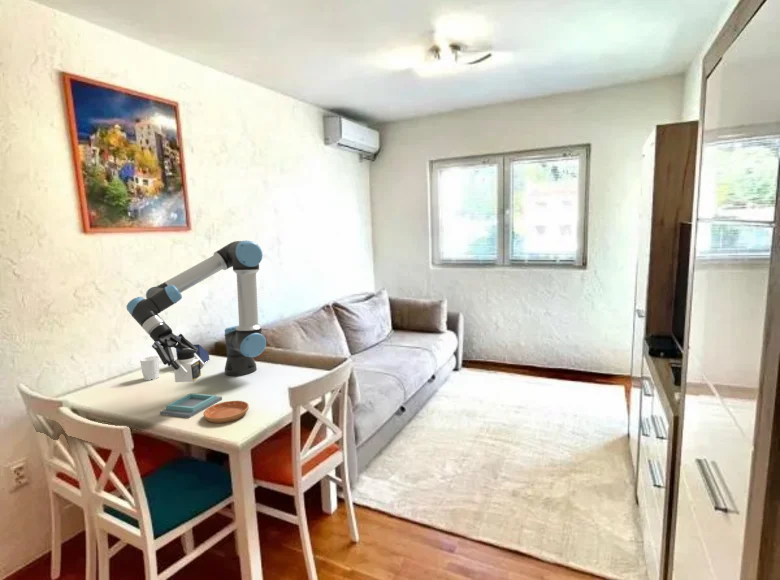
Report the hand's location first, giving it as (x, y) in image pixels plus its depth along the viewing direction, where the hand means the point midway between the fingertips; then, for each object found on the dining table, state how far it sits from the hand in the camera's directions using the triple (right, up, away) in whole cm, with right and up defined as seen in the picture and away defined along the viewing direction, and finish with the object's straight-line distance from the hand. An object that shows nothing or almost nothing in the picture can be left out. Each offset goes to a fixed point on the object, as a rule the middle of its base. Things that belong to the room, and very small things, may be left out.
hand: (194, 370), depth 170 cm
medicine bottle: (-3, -4, +1) cm, 5 cm away
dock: (-2, -15, +3) cm, 16 cm away
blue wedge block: (-29, -9, +65) cm, 71 cm away
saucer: (+16, -16, -7) cm, 24 cm away
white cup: (-40, -12, +43) cm, 60 cm away
